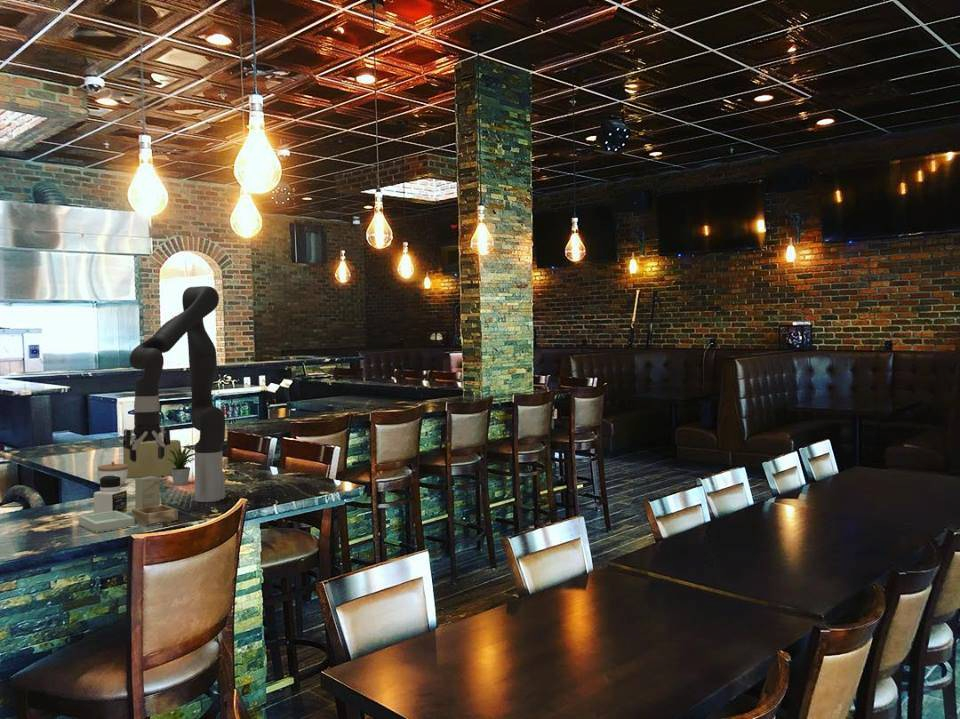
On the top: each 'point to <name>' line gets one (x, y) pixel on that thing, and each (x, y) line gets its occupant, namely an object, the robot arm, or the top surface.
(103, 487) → the medicine bottle
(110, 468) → the lidded jar
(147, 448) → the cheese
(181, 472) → the house plant
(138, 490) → the skincare box
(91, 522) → the tray
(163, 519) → the wooden square box
